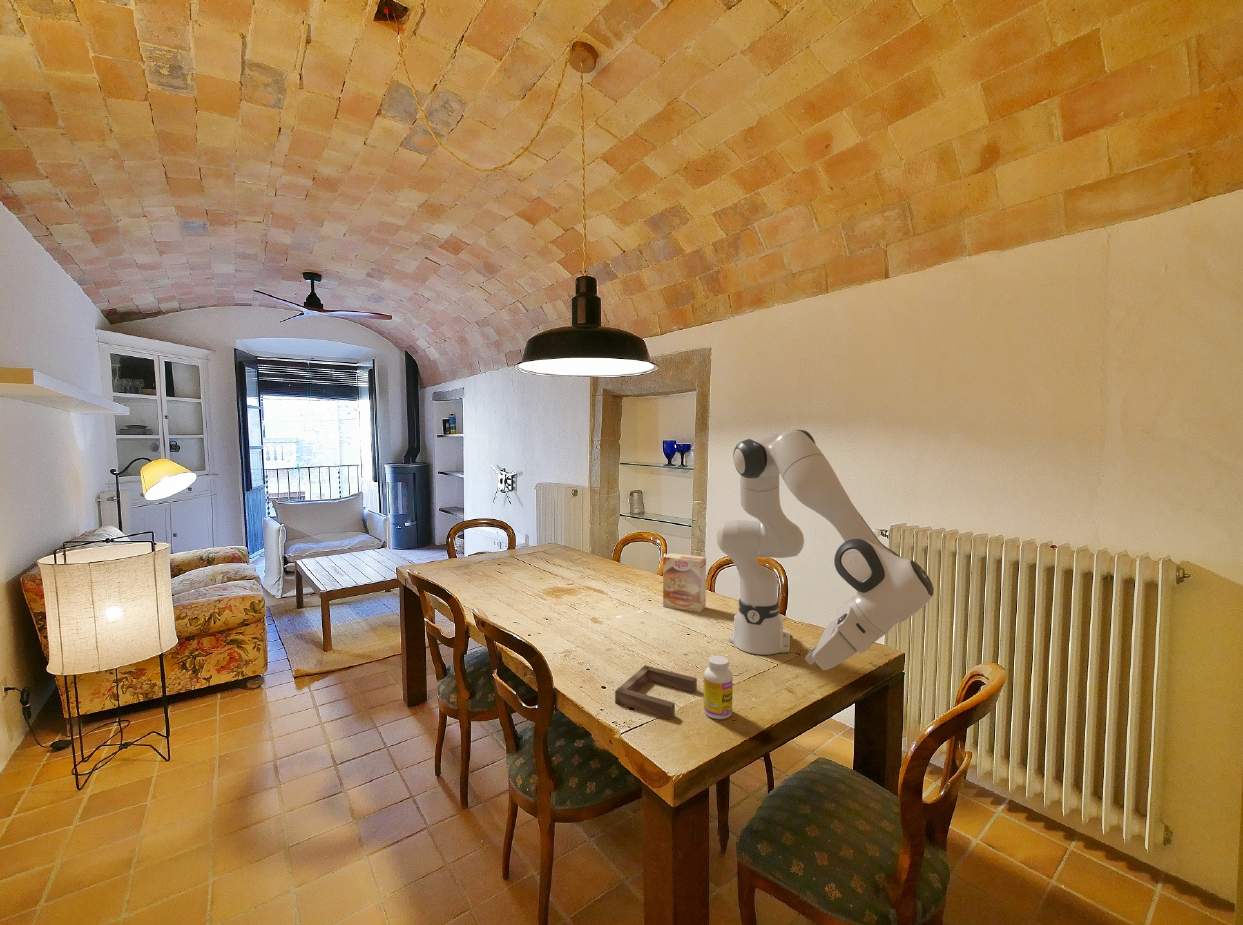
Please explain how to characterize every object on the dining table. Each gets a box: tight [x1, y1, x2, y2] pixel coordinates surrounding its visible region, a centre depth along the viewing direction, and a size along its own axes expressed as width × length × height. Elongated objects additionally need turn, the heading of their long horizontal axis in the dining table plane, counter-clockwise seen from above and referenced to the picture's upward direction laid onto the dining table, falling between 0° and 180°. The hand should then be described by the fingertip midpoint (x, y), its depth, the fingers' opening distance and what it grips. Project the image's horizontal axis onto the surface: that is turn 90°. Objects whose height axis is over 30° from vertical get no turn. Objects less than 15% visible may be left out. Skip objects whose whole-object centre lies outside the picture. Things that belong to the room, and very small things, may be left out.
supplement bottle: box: [703, 655, 734, 720], centre depth 122 cm, size 7×7×13 cm
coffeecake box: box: [662, 552, 707, 613], centre depth 196 cm, size 15×7×20 cm, turn 64°
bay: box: [614, 664, 698, 720], centre depth 130 cm, size 16×15×3 cm
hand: (808, 659), depth 111 cm, fingers closed
